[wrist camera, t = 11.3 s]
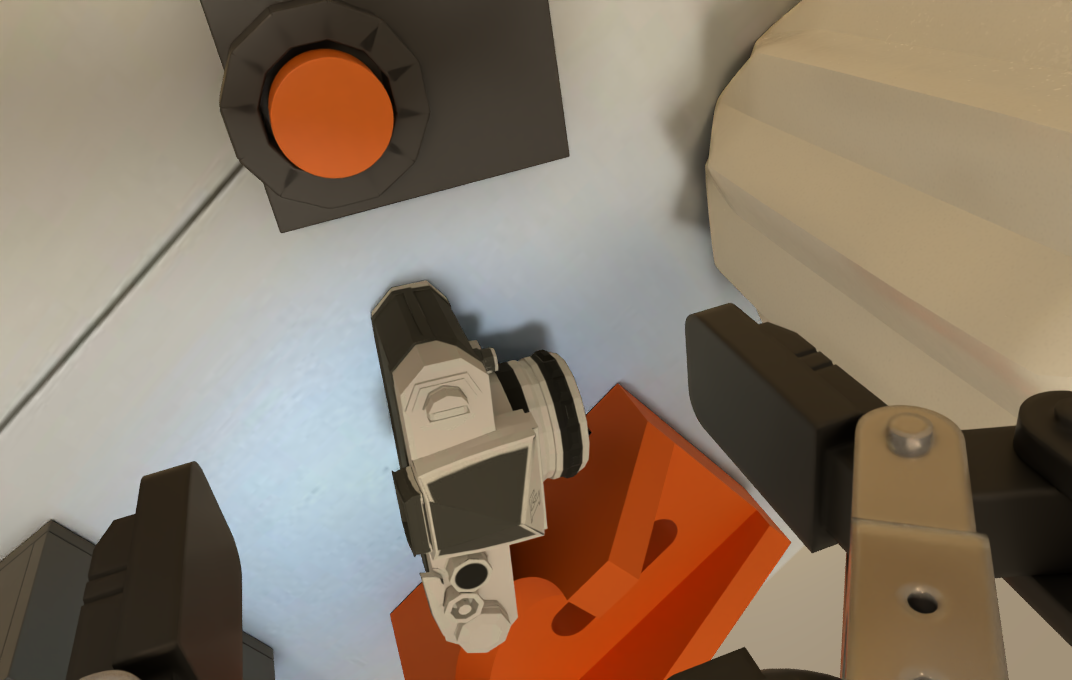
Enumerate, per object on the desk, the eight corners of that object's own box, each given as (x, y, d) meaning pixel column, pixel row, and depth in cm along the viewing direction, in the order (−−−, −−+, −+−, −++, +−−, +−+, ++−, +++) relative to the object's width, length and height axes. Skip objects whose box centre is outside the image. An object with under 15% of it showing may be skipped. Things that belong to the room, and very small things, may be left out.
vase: (550, 212, 37) (1062, 720, 14) (816, -202, 33) (2185, -418, 10) (813, 366, 47) (1369, 816, 24) (1047, 64, 42) (2009, 265, 20)
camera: (556, 515, 46) (629, 654, 38) (403, 559, 44) (445, 715, 36) (534, 255, 38) (622, 357, 30) (348, 293, 36) (385, 414, 28)
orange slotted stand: (540, 684, 52) (588, 806, 45) (390, 614, 46) (419, 744, 39) (744, 488, 50) (827, 584, 43) (617, 383, 43) (693, 477, 36)
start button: (288, 176, 29) (292, 191, 28) (251, 63, 27) (253, 72, 26) (397, 149, 30) (406, 162, 29) (369, 36, 28) (377, 44, 27)
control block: (266, 218, 33) (271, 254, 30) (183, -18, 29) (177, -7, 25) (552, 143, 36) (586, 169, 33) (518, -86, 31) (553, -84, 28)
